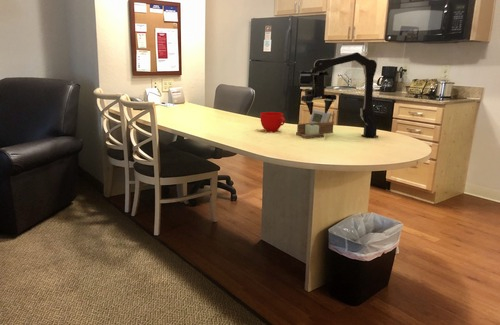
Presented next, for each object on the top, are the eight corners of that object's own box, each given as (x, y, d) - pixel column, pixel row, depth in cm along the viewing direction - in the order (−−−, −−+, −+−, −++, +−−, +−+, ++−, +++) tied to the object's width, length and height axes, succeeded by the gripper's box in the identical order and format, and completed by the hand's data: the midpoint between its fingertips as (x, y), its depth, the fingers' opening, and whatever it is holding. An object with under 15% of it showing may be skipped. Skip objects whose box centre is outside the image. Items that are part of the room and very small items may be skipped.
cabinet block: (318, 136, 208) (319, 124, 206) (310, 137, 206) (311, 124, 205) (312, 134, 214) (313, 122, 212) (304, 135, 212) (305, 123, 210)
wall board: (342, 135, 211) (343, 124, 209) (305, 138, 203) (306, 127, 201) (331, 132, 220) (331, 121, 219) (295, 135, 212) (296, 124, 210)
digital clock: (307, 126, 238) (307, 109, 235) (320, 126, 240) (321, 108, 237) (318, 131, 222) (319, 113, 220) (332, 130, 225) (333, 112, 222)
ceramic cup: (275, 134, 213) (275, 116, 210) (255, 130, 225) (255, 113, 223) (292, 132, 220) (292, 114, 218) (272, 128, 233) (272, 111, 230)
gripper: (325, 82, 215) (324, 111, 219) (296, 84, 208) (295, 113, 212) (337, 83, 205) (336, 113, 209) (306, 85, 198) (306, 116, 202)
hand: (318, 114), depth 208 cm, fingers open, 9 cm apart
